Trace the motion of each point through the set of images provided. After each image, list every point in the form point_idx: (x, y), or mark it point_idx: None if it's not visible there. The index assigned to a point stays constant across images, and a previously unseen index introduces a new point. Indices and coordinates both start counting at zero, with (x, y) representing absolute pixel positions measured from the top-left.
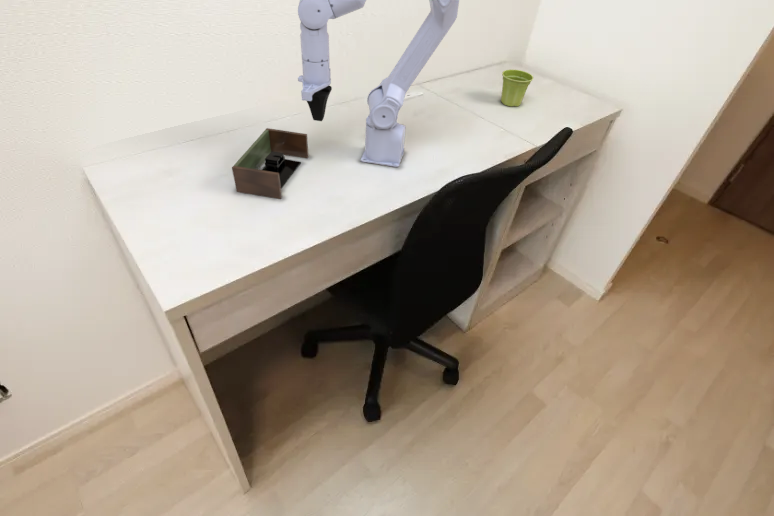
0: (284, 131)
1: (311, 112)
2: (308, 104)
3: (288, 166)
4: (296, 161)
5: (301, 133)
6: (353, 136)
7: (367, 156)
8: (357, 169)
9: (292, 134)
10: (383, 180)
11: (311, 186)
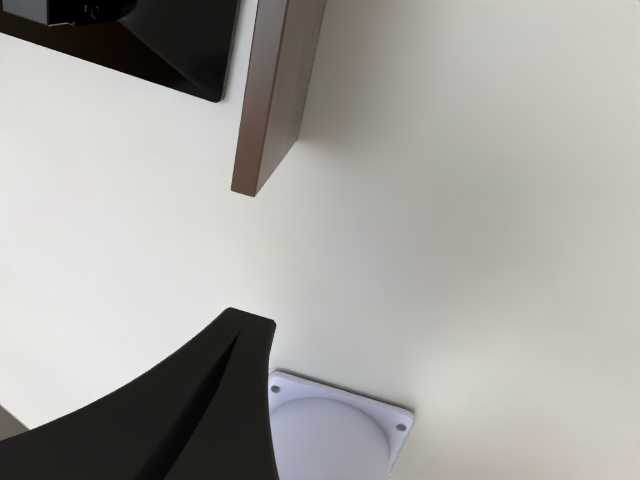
0: (271, 6)
1: (189, 343)
2: (119, 389)
3: (133, 36)
4: (219, 76)
5: (256, 157)
6: (536, 369)
7: (287, 406)
8: None
9: (248, 82)
10: None
11: (32, 164)
